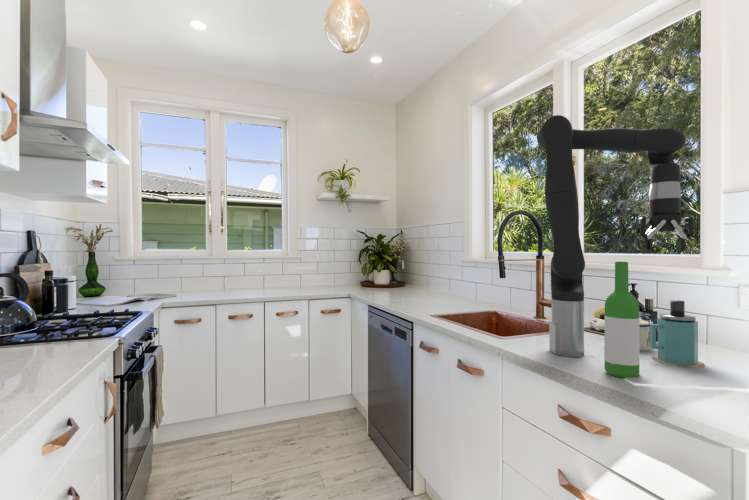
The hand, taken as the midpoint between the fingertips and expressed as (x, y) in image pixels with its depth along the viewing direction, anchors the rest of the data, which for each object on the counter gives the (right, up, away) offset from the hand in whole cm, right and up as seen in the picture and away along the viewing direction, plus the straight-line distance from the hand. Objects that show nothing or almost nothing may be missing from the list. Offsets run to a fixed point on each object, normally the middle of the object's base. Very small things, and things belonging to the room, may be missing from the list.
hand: (664, 251), depth 111 cm
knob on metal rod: (+1, -29, -4) cm, 30 cm away
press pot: (-1, -32, -4) cm, 32 cm away
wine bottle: (-22, -33, -14) cm, 42 cm away
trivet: (+1, -33, -4) cm, 33 cm away
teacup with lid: (-1, -33, +13) cm, 35 cm away
